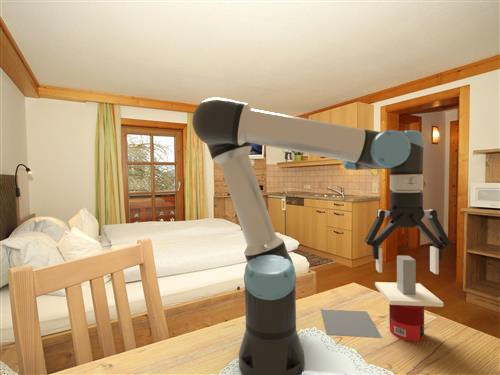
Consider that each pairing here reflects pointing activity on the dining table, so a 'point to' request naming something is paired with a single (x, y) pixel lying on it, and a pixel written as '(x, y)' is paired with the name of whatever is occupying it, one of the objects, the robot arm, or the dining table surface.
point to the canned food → (407, 322)
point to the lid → (407, 287)
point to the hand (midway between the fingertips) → (406, 271)
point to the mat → (349, 323)
